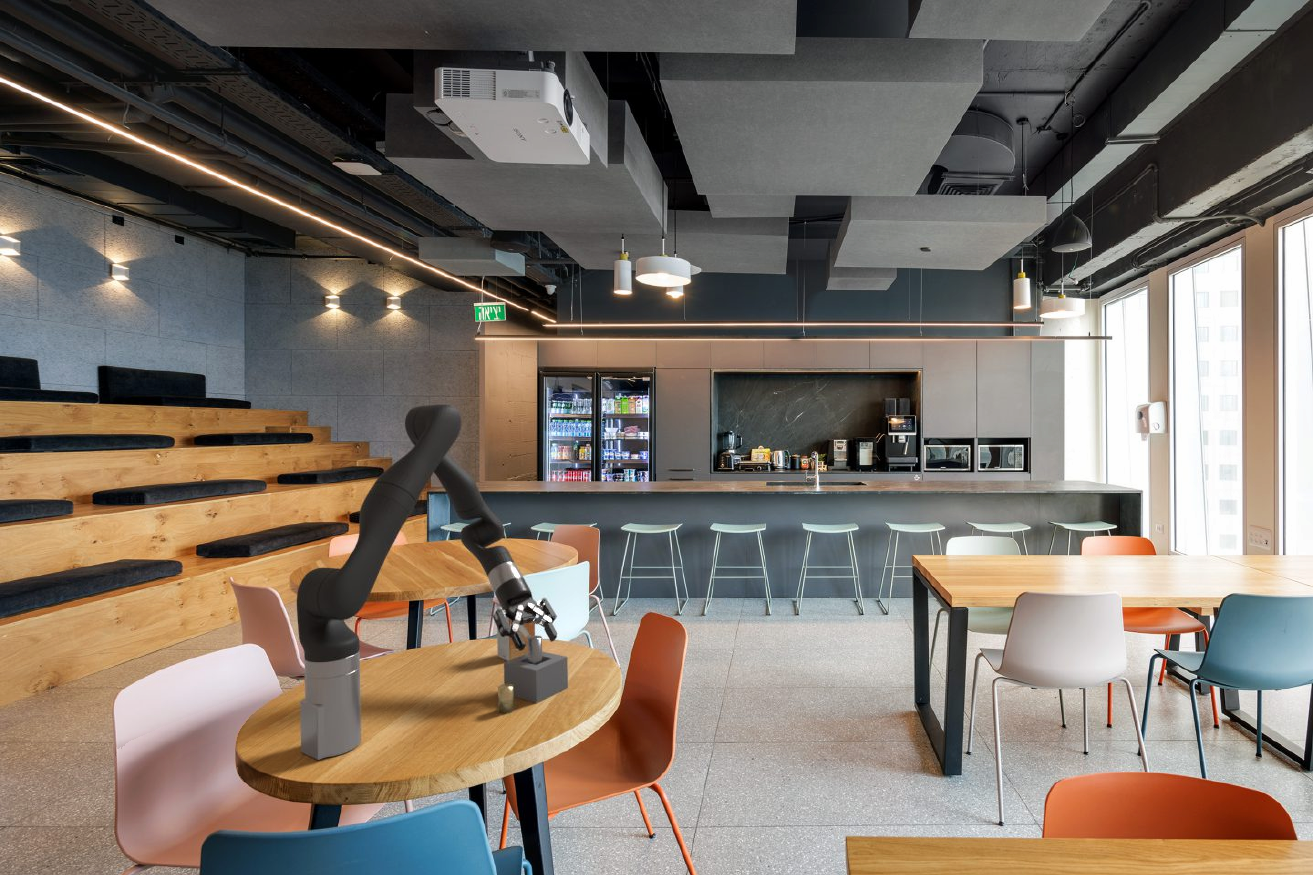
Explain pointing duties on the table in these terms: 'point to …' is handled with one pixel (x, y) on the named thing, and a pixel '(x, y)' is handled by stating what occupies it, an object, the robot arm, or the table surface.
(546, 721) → the table surface
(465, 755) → the table surface
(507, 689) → the brass pin
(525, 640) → the small box
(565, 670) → the collar block
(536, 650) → the grey metal rod
